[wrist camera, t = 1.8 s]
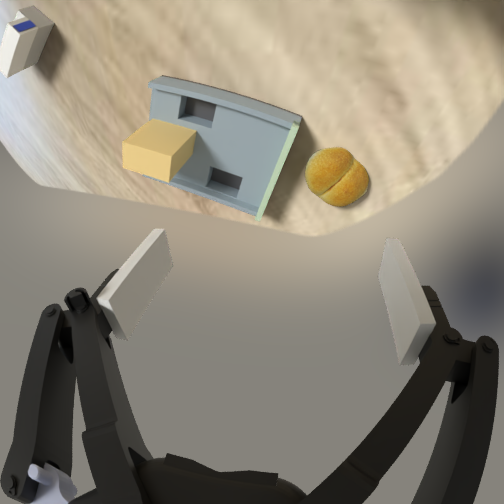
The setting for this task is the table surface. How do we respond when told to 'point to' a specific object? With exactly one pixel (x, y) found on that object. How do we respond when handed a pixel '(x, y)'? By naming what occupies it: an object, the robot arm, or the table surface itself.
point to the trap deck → (226, 142)
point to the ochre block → (158, 149)
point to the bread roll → (336, 176)
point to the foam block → (24, 40)
